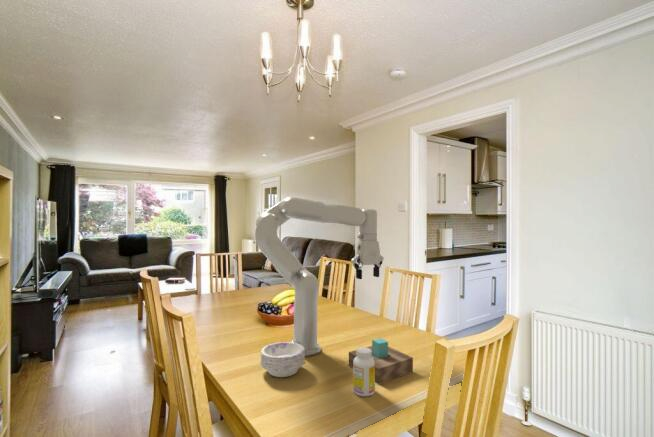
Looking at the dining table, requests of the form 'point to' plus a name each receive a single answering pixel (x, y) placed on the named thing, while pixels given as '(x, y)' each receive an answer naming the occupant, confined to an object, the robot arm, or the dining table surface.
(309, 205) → the robot arm
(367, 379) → the supplement bottle
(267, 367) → the paper bowls
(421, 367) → the dining table surface
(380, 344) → the peg
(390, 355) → the socket block
